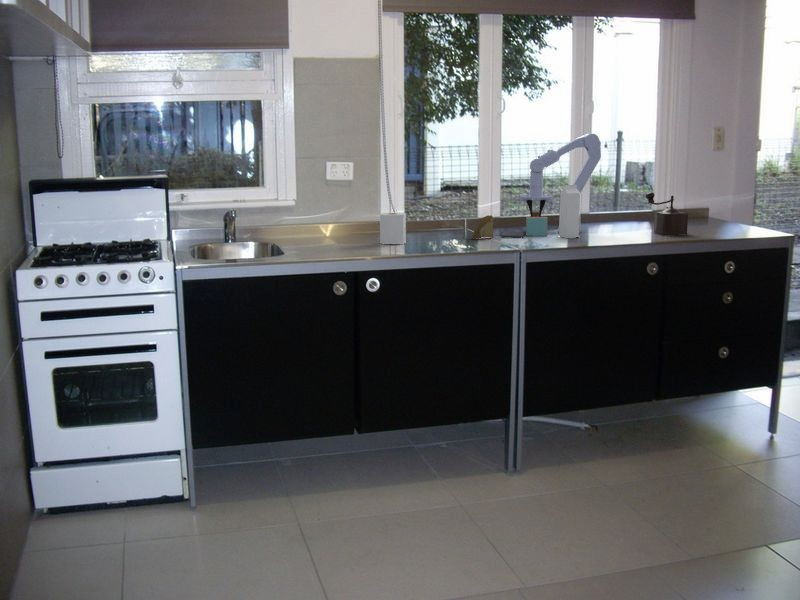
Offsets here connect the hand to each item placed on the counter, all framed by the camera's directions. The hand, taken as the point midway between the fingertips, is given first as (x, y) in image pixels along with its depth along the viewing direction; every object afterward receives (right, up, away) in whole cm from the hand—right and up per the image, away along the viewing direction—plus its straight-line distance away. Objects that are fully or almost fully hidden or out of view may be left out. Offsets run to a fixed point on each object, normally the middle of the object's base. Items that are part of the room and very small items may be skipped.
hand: (535, 217), depth 386 cm
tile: (-2, -9, -13) cm, 16 cm away
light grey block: (-63, -14, -34) cm, 73 cm away
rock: (-26, -11, -20) cm, 35 cm away
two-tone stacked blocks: (-1, -4, -3) cm, 5 cm away
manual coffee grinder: (+54, -9, -12) cm, 56 cm away
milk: (+11, -11, -20) cm, 25 cm away
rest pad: (-12, -10, -14) cm, 21 cm away
